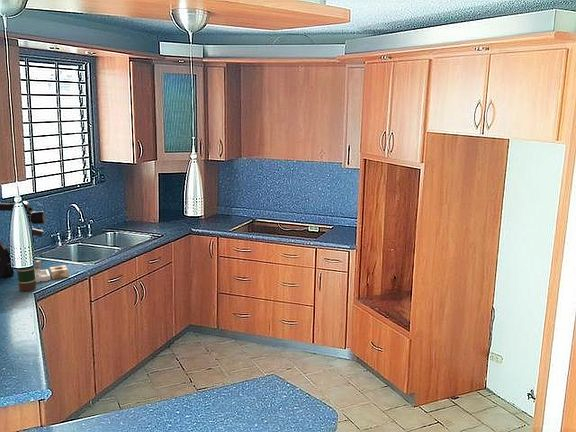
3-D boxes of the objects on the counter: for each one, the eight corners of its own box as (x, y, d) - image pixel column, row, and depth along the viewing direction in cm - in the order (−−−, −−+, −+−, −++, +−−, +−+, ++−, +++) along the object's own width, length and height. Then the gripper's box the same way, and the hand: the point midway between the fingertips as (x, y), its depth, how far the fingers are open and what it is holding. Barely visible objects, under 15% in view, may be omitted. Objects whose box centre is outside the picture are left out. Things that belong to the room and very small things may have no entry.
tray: (27, 283, 297) (27, 279, 296) (26, 276, 309) (25, 272, 309) (50, 280, 302) (50, 275, 301) (48, 273, 314) (47, 269, 314)
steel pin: (33, 279, 303) (32, 262, 301) (33, 276, 307) (31, 260, 305) (43, 278, 305) (41, 261, 303) (42, 275, 308) (40, 259, 307)
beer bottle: (35, 286, 292) (30, 240, 288) (37, 290, 286) (31, 243, 281) (18, 288, 289) (13, 242, 284) (20, 293, 282) (14, 245, 277)
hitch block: (52, 278, 304) (51, 271, 303) (50, 274, 313) (49, 267, 312) (68, 276, 307) (67, 269, 307) (66, 272, 316) (65, 265, 316)
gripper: (42, 226, 304) (46, 254, 307) (40, 220, 320) (43, 247, 323) (19, 228, 299) (23, 257, 302) (18, 222, 315) (21, 250, 318)
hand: (28, 253), depth 312 cm, fingers open, 9 cm apart
